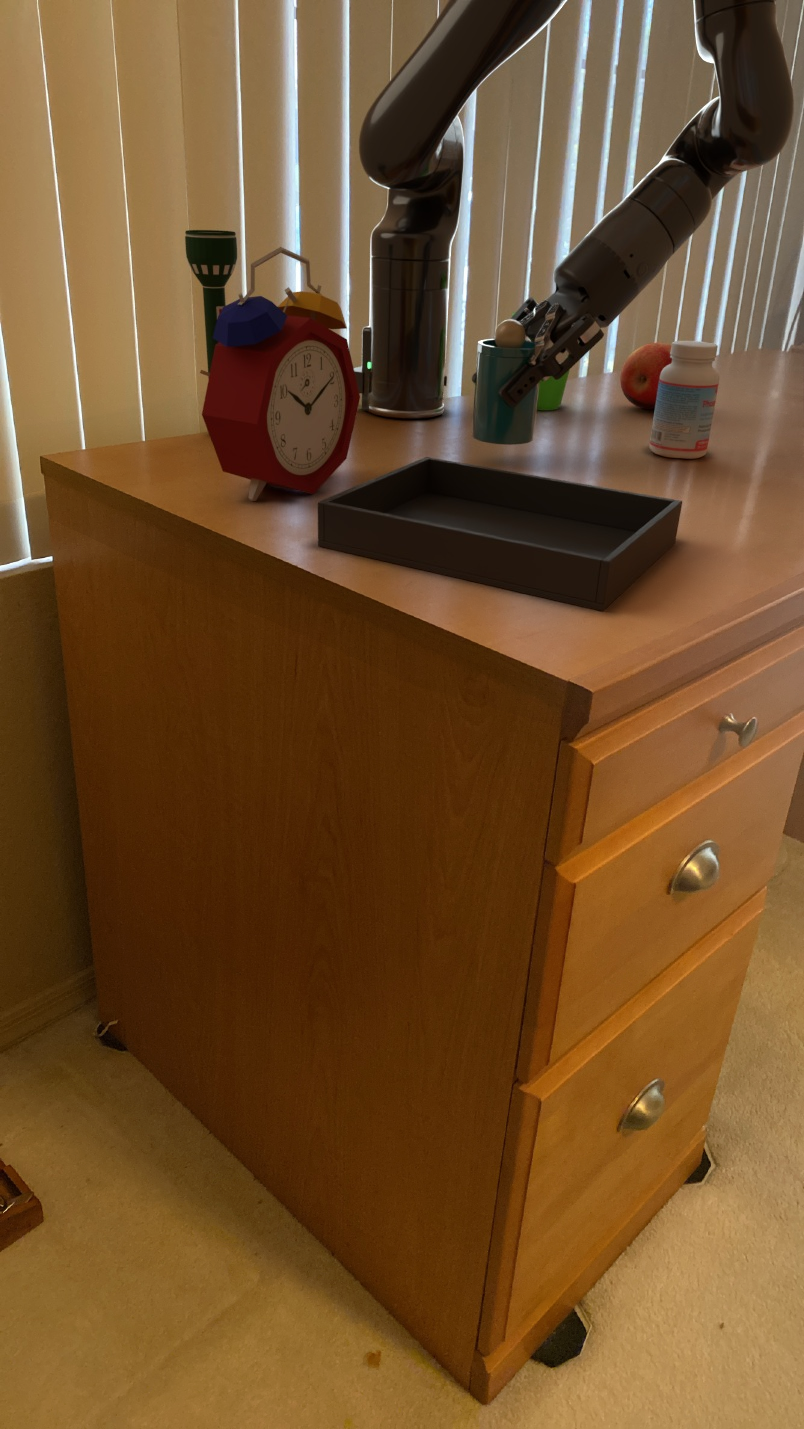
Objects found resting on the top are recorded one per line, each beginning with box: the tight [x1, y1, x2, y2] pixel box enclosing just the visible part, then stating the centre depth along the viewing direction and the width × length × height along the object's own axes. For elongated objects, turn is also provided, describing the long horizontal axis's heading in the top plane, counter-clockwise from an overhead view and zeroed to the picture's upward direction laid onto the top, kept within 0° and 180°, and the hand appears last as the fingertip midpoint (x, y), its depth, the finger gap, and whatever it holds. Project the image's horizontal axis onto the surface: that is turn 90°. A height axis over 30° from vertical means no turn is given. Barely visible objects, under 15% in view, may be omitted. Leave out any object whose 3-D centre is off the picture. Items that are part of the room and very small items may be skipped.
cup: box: [511, 311, 571, 411], centre depth 124 cm, size 9×9×11 cm
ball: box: [493, 318, 525, 348], centre depth 95 cm, size 3×3×3 cm
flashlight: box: [184, 229, 238, 380], centre depth 102 cm, size 5×5×20 cm
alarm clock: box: [199, 246, 361, 502], centre depth 85 cm, size 15×9×20 cm, turn 148°
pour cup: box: [471, 338, 539, 446], centre depth 97 cm, size 6×6×9 cm
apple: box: [619, 342, 672, 410], centre depth 125 cm, size 8×8×8 cm
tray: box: [317, 456, 683, 612], centre depth 77 cm, size 23×17×4 cm
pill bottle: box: [648, 340, 720, 460], centre depth 103 cm, size 6×6×11 cm
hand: (491, 393), depth 97 cm, fingers closed on pour cup, 6 cm apart
